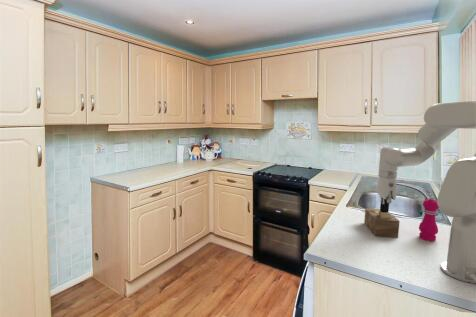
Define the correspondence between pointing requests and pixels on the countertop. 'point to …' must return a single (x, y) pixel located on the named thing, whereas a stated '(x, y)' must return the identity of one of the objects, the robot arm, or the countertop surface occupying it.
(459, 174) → the robot arm
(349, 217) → the countertop surface
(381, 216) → the peg
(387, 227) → the socket block
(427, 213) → the pepper mill
